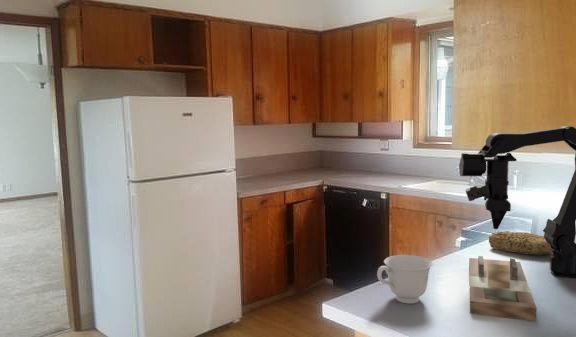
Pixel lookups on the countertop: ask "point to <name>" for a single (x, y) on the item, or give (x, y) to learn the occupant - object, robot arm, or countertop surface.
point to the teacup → (406, 276)
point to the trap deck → (500, 291)
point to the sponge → (520, 242)
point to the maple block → (498, 276)
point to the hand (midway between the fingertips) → (495, 228)
